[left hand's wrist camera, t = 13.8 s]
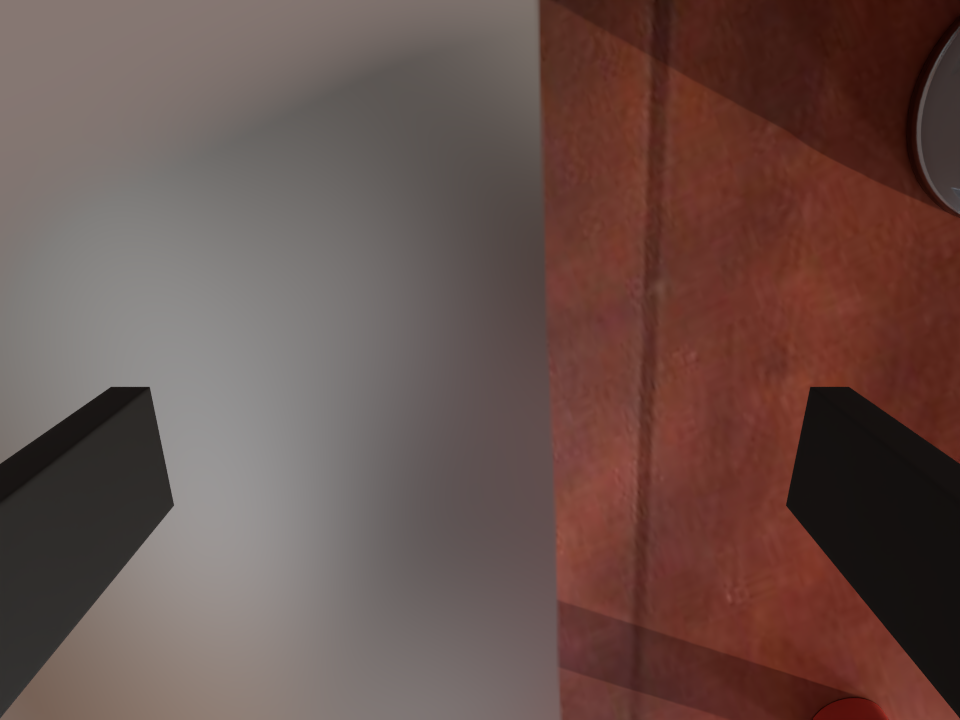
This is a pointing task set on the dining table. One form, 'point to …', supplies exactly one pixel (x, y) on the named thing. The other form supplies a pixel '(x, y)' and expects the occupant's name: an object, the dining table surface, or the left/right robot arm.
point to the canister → (851, 710)
